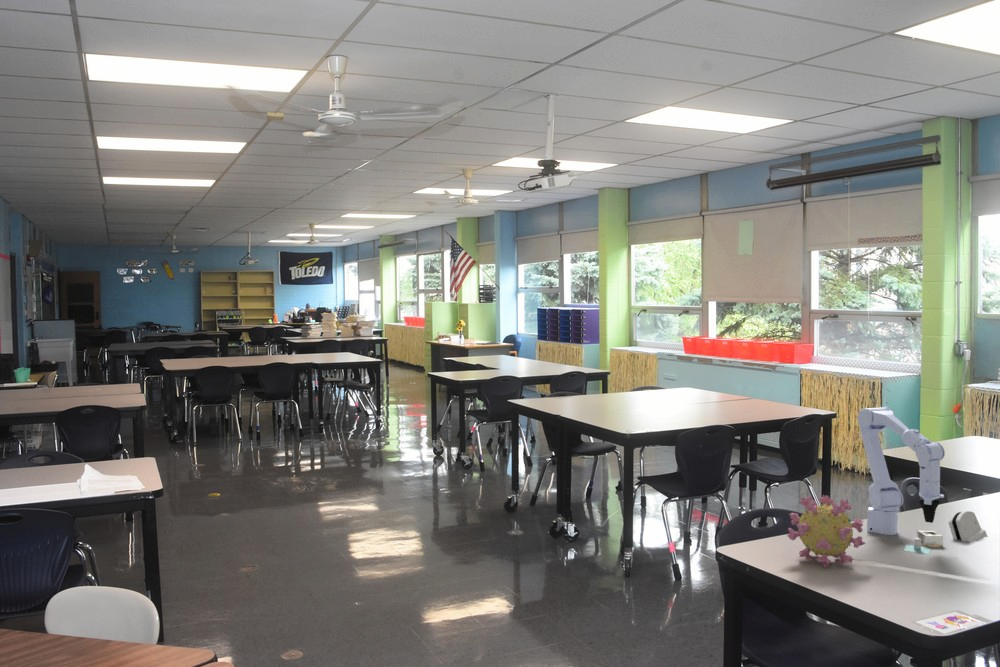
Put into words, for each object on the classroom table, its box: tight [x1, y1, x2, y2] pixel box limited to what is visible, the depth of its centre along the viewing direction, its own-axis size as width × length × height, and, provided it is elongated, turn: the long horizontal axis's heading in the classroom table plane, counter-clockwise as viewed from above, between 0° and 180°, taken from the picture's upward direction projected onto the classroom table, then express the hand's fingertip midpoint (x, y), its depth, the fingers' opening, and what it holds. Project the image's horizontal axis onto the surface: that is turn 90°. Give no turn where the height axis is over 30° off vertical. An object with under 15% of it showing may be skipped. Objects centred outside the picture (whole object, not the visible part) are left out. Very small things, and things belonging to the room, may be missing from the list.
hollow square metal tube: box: [916, 530, 944, 546], centre depth 252 cm, size 6×6×3 cm
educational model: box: [786, 494, 866, 569], centre depth 237 cm, size 23×22×20 cm
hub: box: [921, 534, 943, 548], centre depth 252 cm, size 7×7×4 cm
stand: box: [903, 537, 932, 555], centre depth 246 cm, size 7×7×4 cm
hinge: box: [948, 510, 988, 543], centre depth 260 cm, size 17×5×10 cm, turn 131°
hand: (929, 521), depth 247 cm, fingers closed
